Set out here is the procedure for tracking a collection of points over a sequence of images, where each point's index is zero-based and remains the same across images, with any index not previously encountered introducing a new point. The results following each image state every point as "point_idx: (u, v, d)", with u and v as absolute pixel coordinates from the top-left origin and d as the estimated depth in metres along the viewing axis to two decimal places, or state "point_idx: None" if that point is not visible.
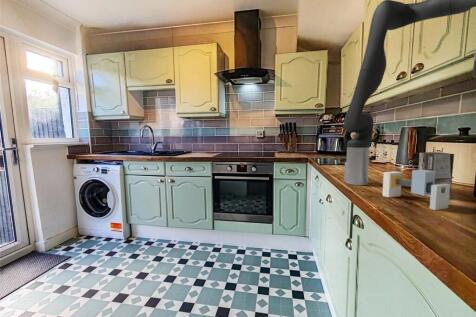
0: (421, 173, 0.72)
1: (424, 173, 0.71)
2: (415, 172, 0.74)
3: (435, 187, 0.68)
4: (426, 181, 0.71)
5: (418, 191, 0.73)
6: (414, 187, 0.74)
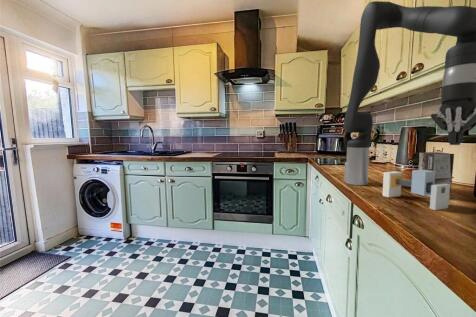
0: (421, 173, 0.72)
1: (424, 173, 0.71)
2: (415, 172, 0.74)
3: (435, 187, 0.68)
4: (426, 181, 0.71)
5: (418, 191, 0.73)
6: (414, 187, 0.74)
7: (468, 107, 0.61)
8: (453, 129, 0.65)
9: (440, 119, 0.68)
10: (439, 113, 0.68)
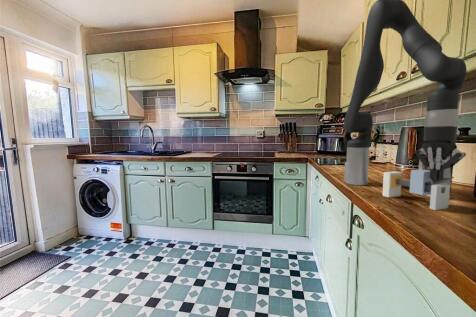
0: (419, 173, 0.73)
1: (422, 173, 0.72)
2: (413, 172, 0.74)
3: (435, 187, 0.68)
4: (424, 181, 0.72)
5: (416, 191, 0.74)
6: (413, 187, 0.75)
7: (447, 148, 0.66)
8: (434, 167, 0.70)
9: (423, 156, 0.73)
10: (422, 150, 0.73)
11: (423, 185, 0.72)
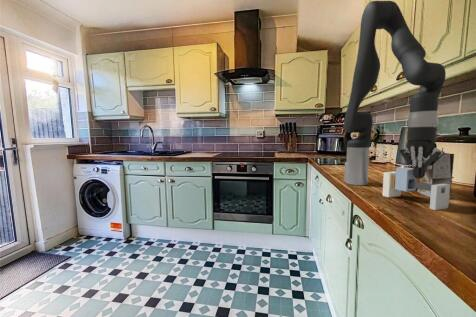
0: (404, 170, 0.77)
1: (406, 170, 0.77)
2: (398, 170, 0.79)
3: (435, 187, 0.68)
4: (408, 178, 0.77)
5: (401, 187, 0.78)
6: (398, 184, 0.80)
7: (428, 147, 0.71)
8: (417, 164, 0.75)
9: (407, 154, 0.78)
10: (406, 149, 0.78)
11: (407, 182, 0.77)
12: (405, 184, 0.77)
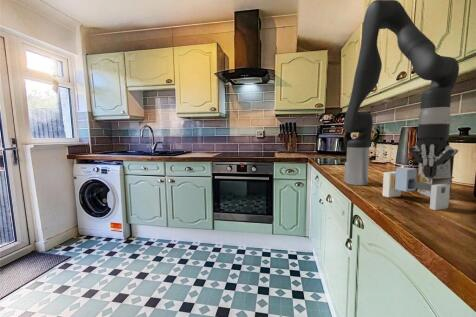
0: (403, 170, 0.77)
1: (406, 170, 0.77)
2: (398, 170, 0.79)
3: (435, 187, 0.68)
4: (408, 178, 0.77)
5: (401, 187, 0.78)
6: (398, 184, 0.80)
7: (440, 145, 0.68)
8: (428, 163, 0.72)
9: (417, 153, 0.75)
10: (416, 147, 0.75)
11: (407, 182, 0.77)
12: (405, 184, 0.77)
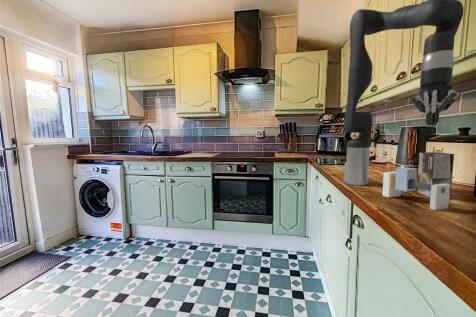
0: (403, 170, 0.77)
1: (406, 170, 0.77)
2: (398, 170, 0.79)
3: (435, 187, 0.68)
4: (408, 178, 0.77)
5: (401, 187, 0.78)
6: (398, 184, 0.80)
7: (442, 90, 0.68)
8: (430, 111, 0.71)
9: (419, 102, 0.74)
10: (418, 97, 0.75)
11: (407, 182, 0.77)
12: (405, 184, 0.77)
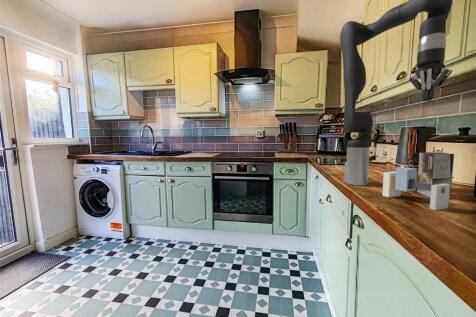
0: (403, 170, 0.77)
1: (406, 170, 0.77)
2: (398, 170, 0.79)
3: (435, 187, 0.68)
4: (408, 178, 0.77)
5: (401, 187, 0.78)
6: (398, 184, 0.80)
7: (436, 68, 0.76)
8: (426, 88, 0.80)
9: (416, 81, 0.83)
10: (415, 76, 0.83)
11: (407, 182, 0.77)
12: (405, 184, 0.77)
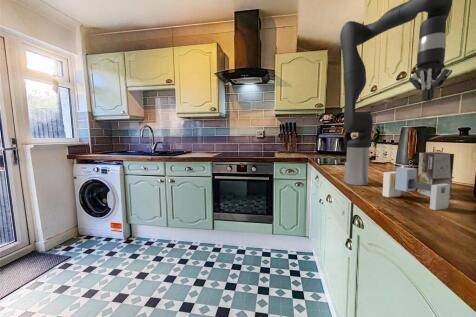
0: (403, 170, 0.77)
1: (406, 170, 0.77)
2: (398, 170, 0.79)
3: (435, 187, 0.68)
4: (408, 178, 0.77)
5: (401, 187, 0.78)
6: (398, 184, 0.80)
7: (436, 68, 0.76)
8: (426, 88, 0.80)
9: (416, 81, 0.83)
10: (415, 76, 0.83)
11: (407, 182, 0.77)
12: (405, 184, 0.77)
